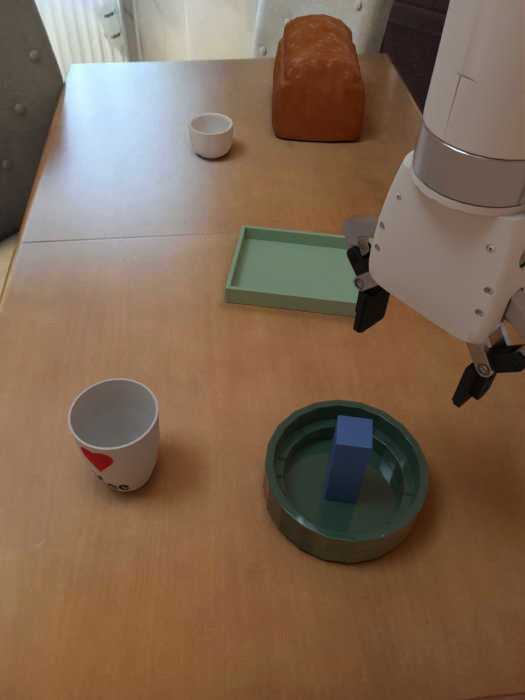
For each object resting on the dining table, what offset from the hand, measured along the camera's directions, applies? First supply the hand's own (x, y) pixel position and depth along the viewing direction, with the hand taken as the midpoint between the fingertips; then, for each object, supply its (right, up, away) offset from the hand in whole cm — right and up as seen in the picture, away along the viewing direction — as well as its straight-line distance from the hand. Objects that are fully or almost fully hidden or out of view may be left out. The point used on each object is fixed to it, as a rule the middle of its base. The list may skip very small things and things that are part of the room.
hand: (415, 358), depth 46 cm
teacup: (-21, +36, +61) cm, 74 cm away
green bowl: (-4, -14, +15) cm, 21 cm away
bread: (-2, +47, +72) cm, 86 cm away
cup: (-26, -12, +16) cm, 33 cm away
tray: (-6, +11, +38) cm, 40 cm away
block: (-4, -13, +14) cm, 20 cm away
